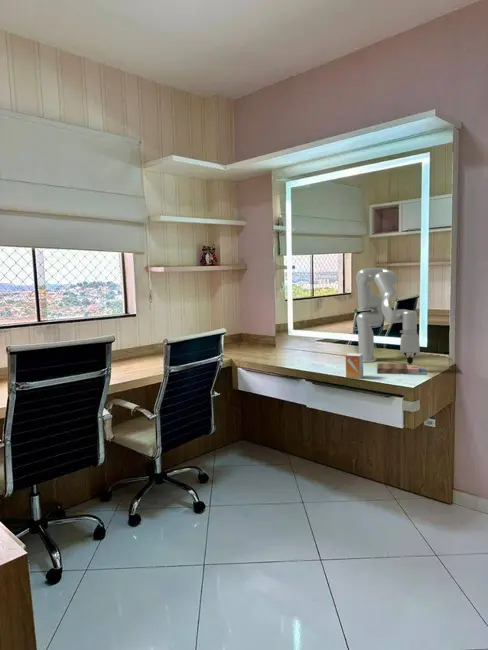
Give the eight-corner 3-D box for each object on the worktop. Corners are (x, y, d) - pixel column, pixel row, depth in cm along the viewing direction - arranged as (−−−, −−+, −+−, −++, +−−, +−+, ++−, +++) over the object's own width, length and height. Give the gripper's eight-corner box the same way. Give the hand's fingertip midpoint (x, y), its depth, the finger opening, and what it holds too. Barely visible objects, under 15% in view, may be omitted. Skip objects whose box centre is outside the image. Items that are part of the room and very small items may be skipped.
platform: (377, 373, 249) (377, 368, 248) (377, 368, 261) (377, 363, 261) (407, 373, 244) (407, 368, 243) (405, 368, 256) (405, 363, 256)
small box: (345, 377, 243) (345, 355, 242) (349, 375, 249) (349, 352, 247) (360, 379, 239) (359, 355, 237) (363, 376, 244) (363, 353, 242)
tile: (407, 372, 246) (407, 368, 245) (406, 368, 254) (406, 365, 254) (418, 372, 244) (418, 369, 244) (417, 368, 252) (417, 365, 252)
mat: (407, 374, 243) (407, 373, 243) (405, 368, 257) (405, 367, 257) (426, 374, 240) (426, 374, 240) (423, 368, 254) (423, 367, 254)
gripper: (395, 333, 245) (396, 365, 247) (424, 333, 241) (424, 365, 243) (395, 331, 252) (396, 362, 255) (423, 331, 248) (423, 362, 250)
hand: (410, 363), depth 249 cm, fingers closed
